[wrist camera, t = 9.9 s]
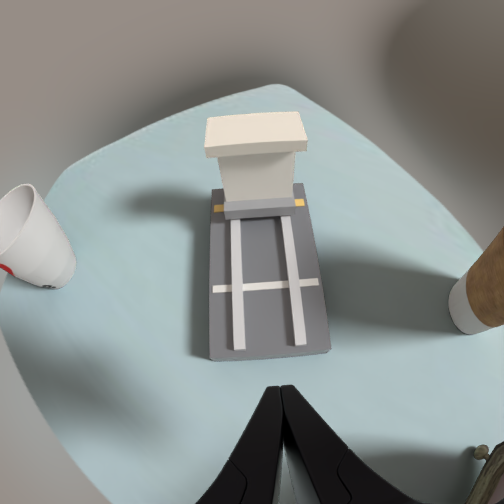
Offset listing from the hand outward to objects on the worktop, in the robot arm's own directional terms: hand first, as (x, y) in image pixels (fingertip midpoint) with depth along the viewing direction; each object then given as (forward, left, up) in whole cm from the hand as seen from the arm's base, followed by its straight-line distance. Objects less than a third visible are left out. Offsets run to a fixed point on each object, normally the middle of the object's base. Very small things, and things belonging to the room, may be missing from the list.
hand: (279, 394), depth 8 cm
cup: (-7, +25, -14) cm, 29 cm away
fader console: (+8, +8, -13) cm, 17 cm away
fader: (+12, +12, -11) cm, 20 cm away
